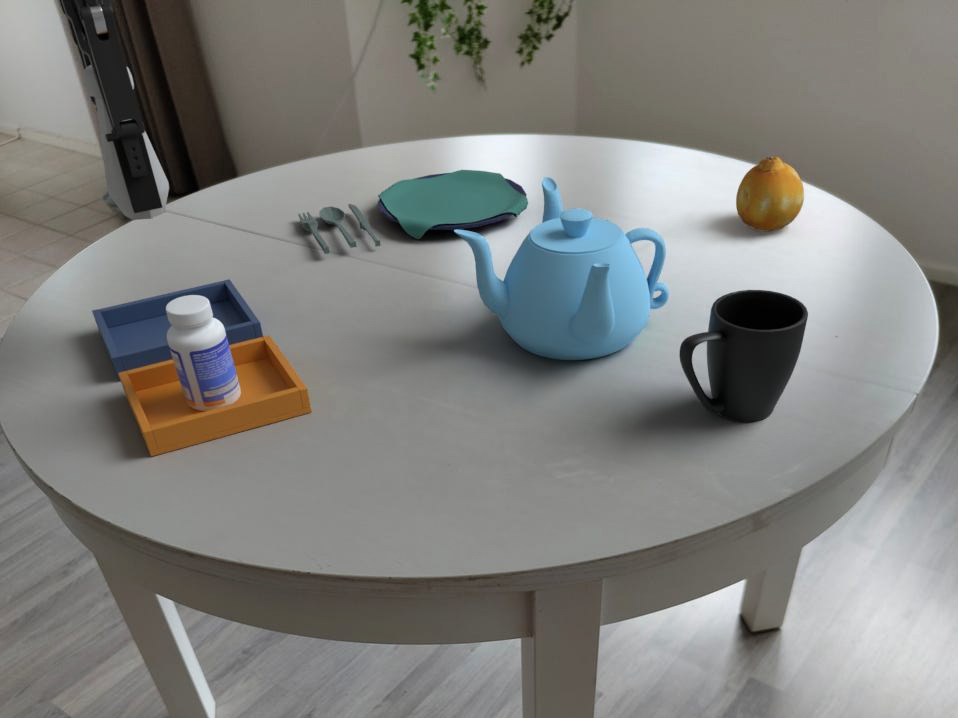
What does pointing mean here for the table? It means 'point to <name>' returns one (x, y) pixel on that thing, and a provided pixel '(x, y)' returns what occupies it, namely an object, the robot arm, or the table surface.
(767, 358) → the mug
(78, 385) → the table surface
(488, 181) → the cutlery set
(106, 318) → the tray slate
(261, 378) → the tray amber
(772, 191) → the fruit
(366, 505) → the table surface
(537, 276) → the teapot
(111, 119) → the robot arm
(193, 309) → the pill bottle
